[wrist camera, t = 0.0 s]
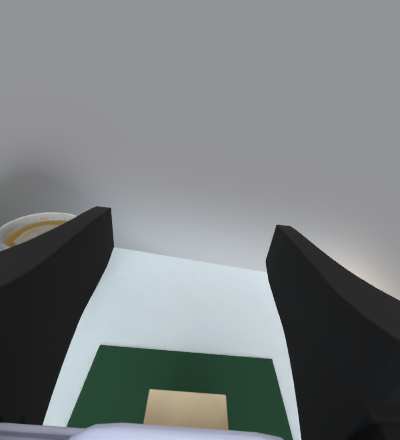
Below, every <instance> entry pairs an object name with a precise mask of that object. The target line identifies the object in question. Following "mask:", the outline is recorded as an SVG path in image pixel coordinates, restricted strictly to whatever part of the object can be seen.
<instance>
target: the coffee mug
mask: <svg viewBox="0 0 400 440" xmlns="http://www.w3.org/2000/svg"><path fill="white" fill-rule="evenodd" d="M75 217H77V216H76V215H73V214H69V213H60V212H47V213H38V214H32V215H28V216H24V217H20V218H18V219H15V220H13V221H11V222H8V223H7V224H5V225H3V226H2V227H1V228H0V251H2V250H5V249H8V248H10V247H13V246H15V245H18V244H21V243H23V242H26V241H28V240H30V239H33V238H35V237H37V236H39V235H41V234H43V233H45V232H47V231H50V230H52V229H54V228H56V227H58V226H60V225H62V224H64V223H65V222H67V221H69V220H71V219H73V218H75Z"/></svg>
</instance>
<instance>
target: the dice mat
mask: <svg viewBox="0 0 400 440" xmlns="http://www.w3.org/2000/svg"><path fill="white" fill-rule="evenodd" d="M150 389H155V390H168V391H181V392H194V393H207V394H220V395H226V404H227V417H228V430H231V431H245V432H257V433H262V434H266V435H271V436H276V437H280V438H282V439H283V440H293V438H292V434H291V430H290V427H289V423H288V419H287V415H286V411H285V407H284V403H283V400H282V396H281V392H280V388H279V384H278V380H277V376H276V372H275V369H274V365H273V361H272V359H264V358H251V357H239V356H227V355H215V354H203V353H191V352H179V351H166V350H154V349H142V348H130V347H118V346H106V345H100V346H99V349H98V351H97V354H96V356H95V359H94V361H93V363H92V366H91V368H90V371H89V373H88V376H87V378H86V381H85V383H84V385H83V388H82V390H81V393H80V395H79V398H78V400H77V403H76V405H75V407H74V410H73V412H72V415H71V417H70V420H69V422H68V425H67V427H70V428H85V429H86V428H88V427H90V426H93V425H95V424H108V423H134V424H143V423H144V417H145V412H146V406H147V400H148V395H149V390H150Z"/></svg>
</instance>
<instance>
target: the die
mask: <svg viewBox="0 0 400 440" xmlns="http://www.w3.org/2000/svg"><path fill="white" fill-rule="evenodd" d="M143 424H148V425H162V426H175V427H189V428H203V429H217V430H228V417H227V404H226V395H220V394H207V393H194V392H181V391H168V390H155V389H150V390H149V395H148V400H147V406H146V412H145V417H144V423H143Z"/></svg>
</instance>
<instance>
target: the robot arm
mask: <svg viewBox="0 0 400 440" xmlns="http://www.w3.org/2000/svg"><path fill="white" fill-rule="evenodd" d="M113 248H114V241H113V229H112V217H111V208H106V207H94V208H92V209H90V210H88V211H86V212H84V213H82V214H80V215H79V216H77V217H75V218H73V219H71V220H69V221H67V222H65V223H64V224H62V225H60V226H58V227H56V228H54V229H52V230H50V231H47V232H45V233H43V234H41V235H39V236H37V237H35V238H33V239H30V240H28V241H26V242H23V243H21V244H18V245H15V246H13V247H10V248H8V249H5V250H2V251H0V440H283V439H282V438H280V437H276V436H271V435H266V434H262V433H257V432H245V431H231V430H217V429H203V428H189V427H175V426H162V425H148V424H134V423H108V424H95V425H93V426H90V427H88V428H86V429H85V428H70V427H56V426H42V425H43V421H44V418H45V415H46V412H47V409H48V406H49V403H50V399H51V396H52V393H53V390H54V388H55V385H56V382H57V379H58V376H59V373H60V370H61V367H62V364H63V362H64V359H65V356H66V354H67V351H68V348H69V346H70V343H71V340H72V338H73V335H74V333H75V330H76V328H77V325H78V323H79V320H80V318H81V316H82V313H83V311H84V309H85V307H86V305H87V303H88V302H89V300H90V298H91V296H92V294H93V292H94V290H95V288H96V286H97V284H98V283H99V281H100V279H101V277H102V275H103V273H104V271H105V269H106V267H107V265H108V262H109V259H110V257H111V254H112V251H113ZM266 267H267V274H268V280H269V284H270V287H271V290H272V294H273V297H274V300H275V303H276V307H277V310H278V313H279V316H280V319H281V323H282V326H283V330H284V334H285V338H286V343H287V348H288V353H289V358H290V364H291V369H292V375H293V381H294V387H295V394H296V401H297V408H298V415H299V423H300V431H301V440H400V301H399V300H397V299H396V298H394V297H392V296H390V295H388V294H386V293H384V292H383V291H380V290H379V289H377V288H375V287H374V286H372V285H370V284H369V283H367V282H365V281H364V280H362V279H360V278H359V277H357V276H356V275H354V274H353V273H351V272H350V271H348V270H347V269H345V268H344V267H343V266H341V265H340V264H338V263H337V262H336V261H334V260H333V259H332V258H330V257H329V256H327V255H326V254H325V253H324V252H323V251H321V250H320V249H319V248H317V247H316V246H315V245H314V244H313V243H311V242H310V241H309V240H308V239H307V238H305V237H304V236H303V235H301V234H300V233H299V232H298V231H297V230H295V229H294V228H292V227H291V226H283V225H276V229H275V232H274V235H273V238H272V242H271V245H270V248H269V252H268V255H267V258H266Z"/></svg>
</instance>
